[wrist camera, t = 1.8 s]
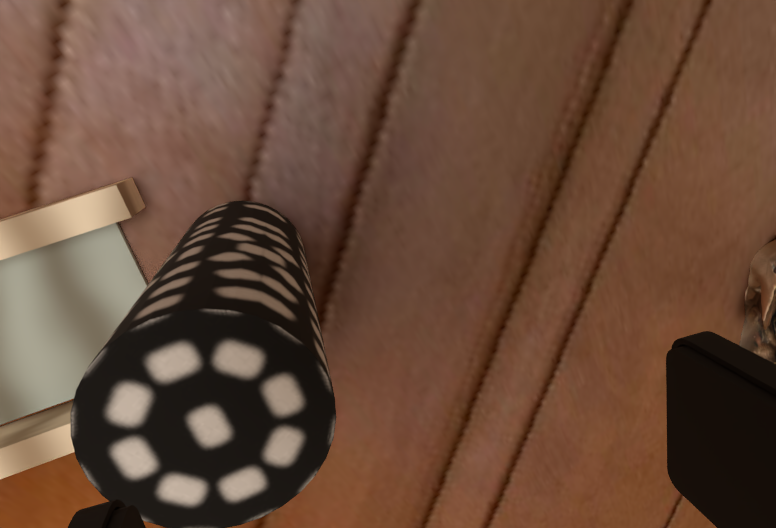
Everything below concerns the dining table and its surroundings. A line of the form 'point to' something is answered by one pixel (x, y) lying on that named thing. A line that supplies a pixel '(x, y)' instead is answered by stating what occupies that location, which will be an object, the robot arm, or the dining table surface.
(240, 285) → the spotted tube
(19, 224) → the open-ended tray
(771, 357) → the food dish
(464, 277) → the dining table surface
